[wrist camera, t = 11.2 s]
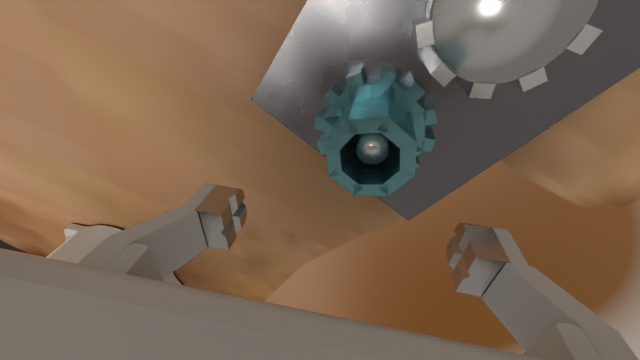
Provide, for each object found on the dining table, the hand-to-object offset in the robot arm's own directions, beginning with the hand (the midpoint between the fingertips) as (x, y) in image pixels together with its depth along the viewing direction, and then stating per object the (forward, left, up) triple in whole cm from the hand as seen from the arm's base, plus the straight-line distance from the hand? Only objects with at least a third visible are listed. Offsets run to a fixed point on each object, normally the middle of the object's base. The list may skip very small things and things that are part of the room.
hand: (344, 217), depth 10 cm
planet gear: (0, -1, -10) cm, 10 cm away
